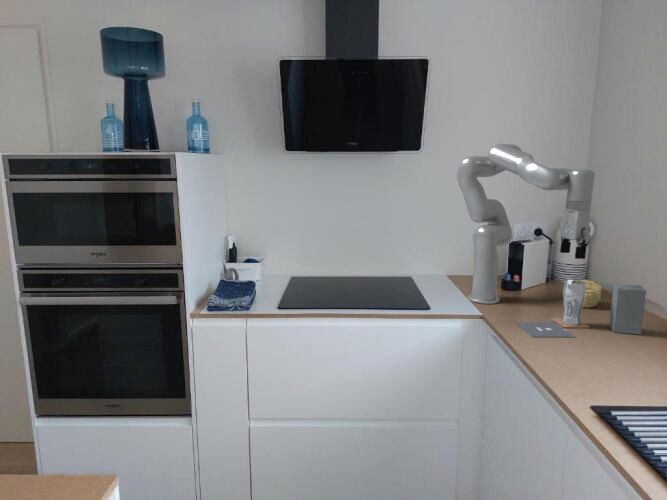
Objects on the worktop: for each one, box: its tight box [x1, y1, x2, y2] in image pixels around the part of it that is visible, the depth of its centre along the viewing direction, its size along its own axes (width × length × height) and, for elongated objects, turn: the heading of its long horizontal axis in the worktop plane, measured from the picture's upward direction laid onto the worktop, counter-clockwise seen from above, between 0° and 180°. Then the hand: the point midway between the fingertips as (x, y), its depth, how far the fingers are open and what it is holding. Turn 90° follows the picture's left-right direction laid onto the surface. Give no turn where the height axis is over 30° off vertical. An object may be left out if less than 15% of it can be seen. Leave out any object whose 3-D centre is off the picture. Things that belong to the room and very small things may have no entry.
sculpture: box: [579, 279, 603, 309], centre depth 181 cm, size 12×12×11 cm
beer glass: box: [561, 279, 586, 326], centre depth 158 cm, size 7×7×15 cm
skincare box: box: [609, 283, 647, 335], centre depth 152 cm, size 8×7×16 cm
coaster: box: [550, 317, 590, 329], centre depth 160 cm, size 9×9×1 cm
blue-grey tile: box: [515, 321, 576, 338], centre depth 154 cm, size 14×14×1 cm
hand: (572, 255), depth 156 cm, fingers open, 9 cm apart
